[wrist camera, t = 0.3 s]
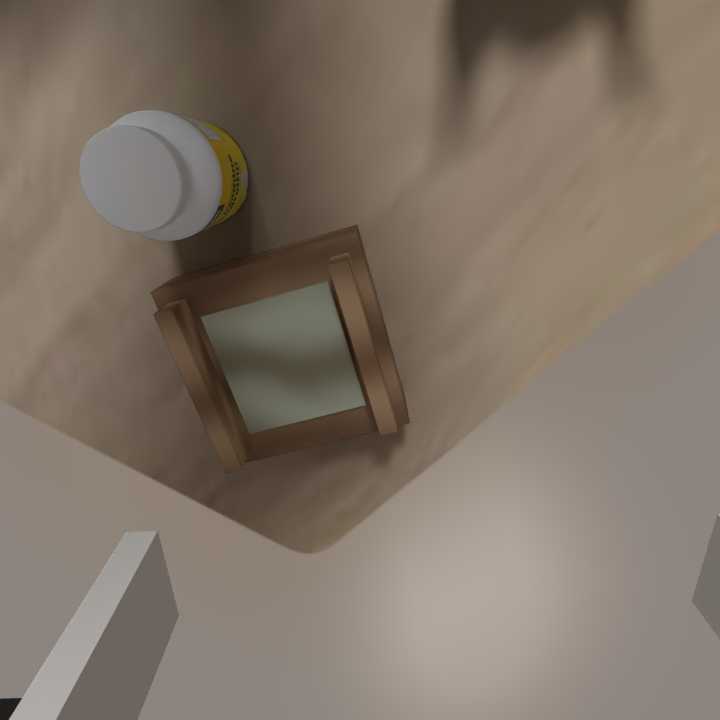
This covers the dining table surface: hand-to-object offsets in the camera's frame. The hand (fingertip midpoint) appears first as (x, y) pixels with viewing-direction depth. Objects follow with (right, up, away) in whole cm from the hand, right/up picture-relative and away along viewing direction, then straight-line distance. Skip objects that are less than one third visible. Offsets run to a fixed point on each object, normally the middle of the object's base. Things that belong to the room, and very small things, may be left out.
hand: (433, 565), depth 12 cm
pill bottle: (-12, +18, +22) cm, 30 cm away
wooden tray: (-7, +6, +26) cm, 28 cm away
